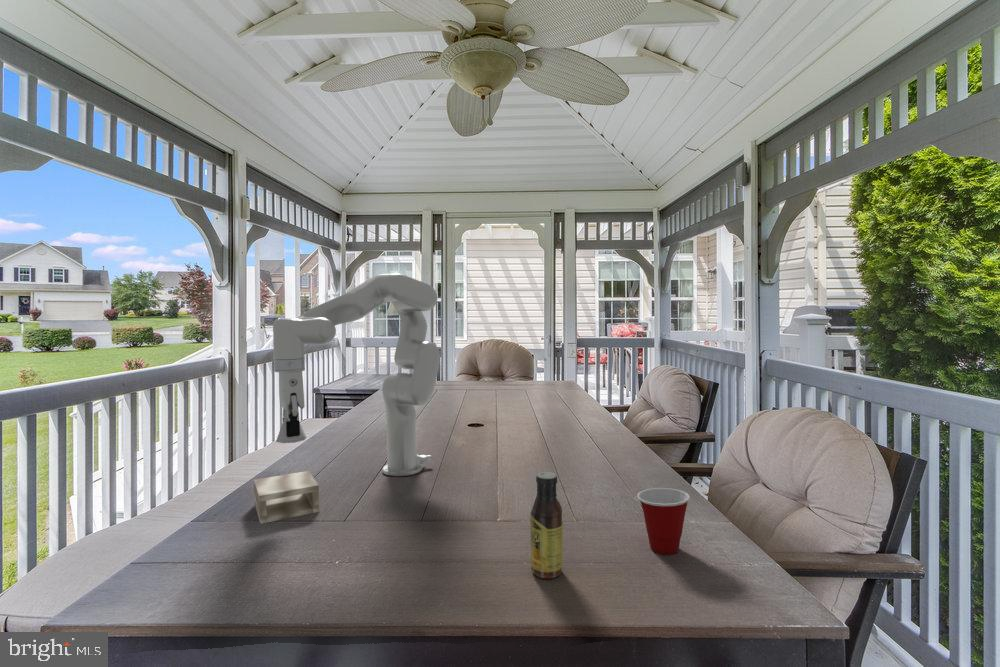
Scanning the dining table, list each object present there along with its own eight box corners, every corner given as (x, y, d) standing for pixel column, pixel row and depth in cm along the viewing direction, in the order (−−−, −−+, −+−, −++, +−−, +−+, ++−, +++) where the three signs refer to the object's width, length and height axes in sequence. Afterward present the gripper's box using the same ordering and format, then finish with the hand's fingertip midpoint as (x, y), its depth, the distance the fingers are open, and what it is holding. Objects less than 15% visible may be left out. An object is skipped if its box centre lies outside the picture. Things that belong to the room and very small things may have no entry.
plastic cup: (649, 533, 119) (649, 481, 118) (697, 546, 112) (697, 491, 112) (628, 550, 111) (628, 495, 110) (678, 566, 104) (678, 507, 103)
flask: (296, 444, 133) (295, 405, 132) (270, 443, 134) (269, 405, 134) (311, 437, 140) (310, 401, 139) (287, 436, 141) (286, 400, 141)
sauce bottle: (528, 565, 105) (527, 469, 104) (559, 563, 106) (558, 467, 105) (533, 582, 99) (532, 480, 98) (566, 580, 99) (565, 478, 98)
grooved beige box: (309, 495, 147) (308, 470, 146) (319, 511, 135) (318, 485, 134) (254, 505, 140) (253, 479, 139) (260, 523, 128) (259, 495, 127)
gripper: (311, 367, 131) (312, 438, 132) (298, 362, 145) (300, 426, 146) (279, 369, 127) (280, 442, 128) (269, 363, 142) (271, 429, 142)
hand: (291, 433), depth 137 cm, fingers closed on flask, 5 cm apart
